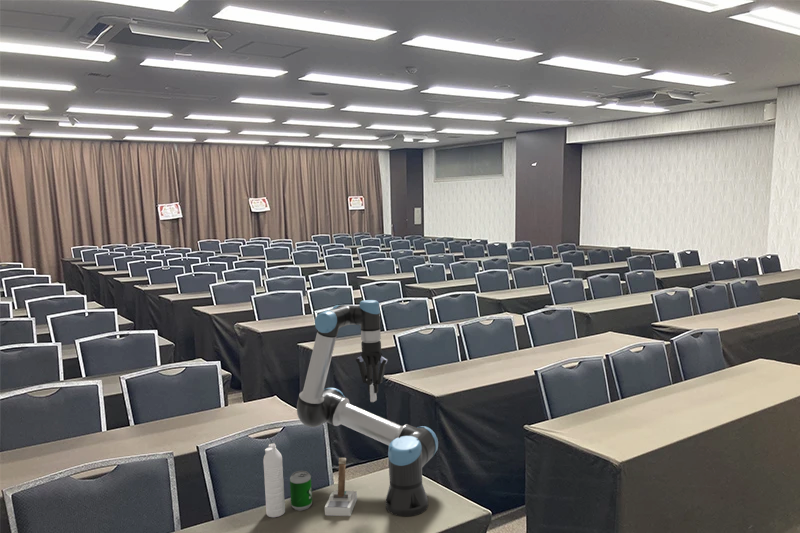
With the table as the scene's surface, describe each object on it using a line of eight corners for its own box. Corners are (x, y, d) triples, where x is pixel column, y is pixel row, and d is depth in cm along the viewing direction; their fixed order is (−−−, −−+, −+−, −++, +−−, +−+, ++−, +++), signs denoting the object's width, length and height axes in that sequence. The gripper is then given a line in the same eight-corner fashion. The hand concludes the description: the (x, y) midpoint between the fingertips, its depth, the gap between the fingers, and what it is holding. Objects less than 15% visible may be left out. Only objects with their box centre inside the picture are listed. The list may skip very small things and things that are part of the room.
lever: (348, 497, 204) (349, 457, 208) (346, 498, 201) (348, 458, 205) (335, 497, 204) (336, 457, 208) (333, 498, 202) (335, 457, 206)
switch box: (357, 499, 209) (356, 487, 208) (350, 516, 197) (349, 503, 196) (333, 498, 210) (332, 486, 209) (325, 515, 198) (324, 502, 197)
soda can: (307, 512, 200) (306, 479, 199) (287, 511, 202) (286, 478, 201) (315, 502, 208) (313, 470, 207) (296, 500, 209) (294, 469, 208)
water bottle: (269, 508, 204) (265, 440, 202) (287, 508, 204) (283, 440, 202) (262, 521, 195) (258, 450, 194) (281, 521, 195) (277, 450, 193)
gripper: (390, 339, 219) (392, 399, 221) (360, 338, 224) (362, 396, 225) (382, 343, 212) (385, 405, 214) (351, 341, 217) (354, 402, 219)
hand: (373, 400), depth 220 cm, fingers closed
